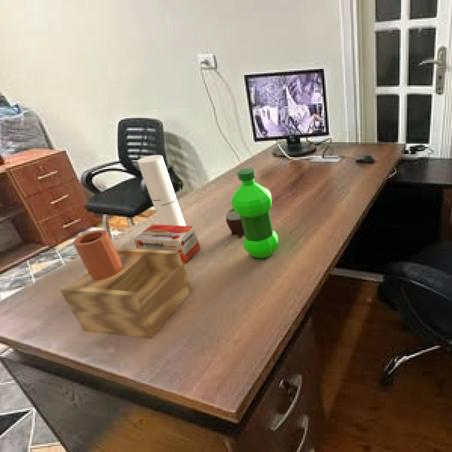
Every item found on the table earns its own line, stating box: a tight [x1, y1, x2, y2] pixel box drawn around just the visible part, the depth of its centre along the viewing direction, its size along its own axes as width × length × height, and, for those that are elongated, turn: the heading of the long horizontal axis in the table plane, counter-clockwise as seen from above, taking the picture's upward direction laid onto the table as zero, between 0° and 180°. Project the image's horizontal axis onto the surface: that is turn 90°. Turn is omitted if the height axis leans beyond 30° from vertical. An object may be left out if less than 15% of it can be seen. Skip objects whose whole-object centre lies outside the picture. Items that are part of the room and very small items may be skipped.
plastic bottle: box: [231, 168, 279, 259], centre depth 95 cm, size 10×10×25 cm
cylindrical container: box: [136, 154, 187, 226], centre depth 113 cm, size 7×7×25 cm
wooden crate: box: [58, 247, 193, 339], centre depth 81 cm, size 18×16×12 cm
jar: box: [72, 229, 123, 280], centre depth 77 cm, size 6×6×9 cm
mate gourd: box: [225, 208, 244, 239], centre depth 109 cm, size 8×8×15 cm
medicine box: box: [133, 224, 201, 265], centre depth 103 cm, size 15×8×8 cm, turn 77°
